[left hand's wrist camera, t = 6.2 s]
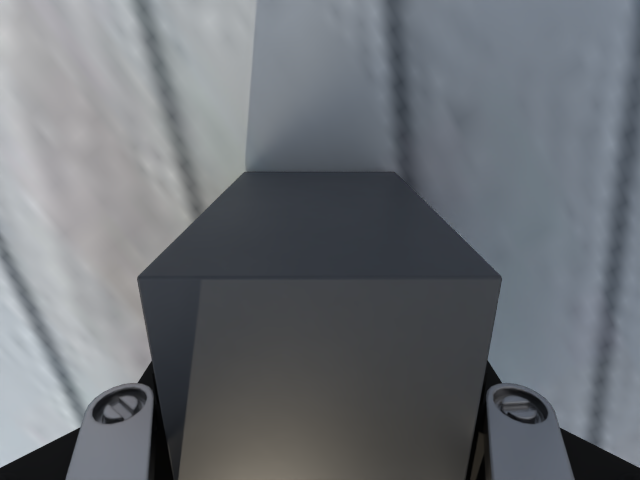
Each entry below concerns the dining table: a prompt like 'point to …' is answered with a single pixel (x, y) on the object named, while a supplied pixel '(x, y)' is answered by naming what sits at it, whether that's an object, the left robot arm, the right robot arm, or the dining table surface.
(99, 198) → the dining table surface
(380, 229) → the beam
